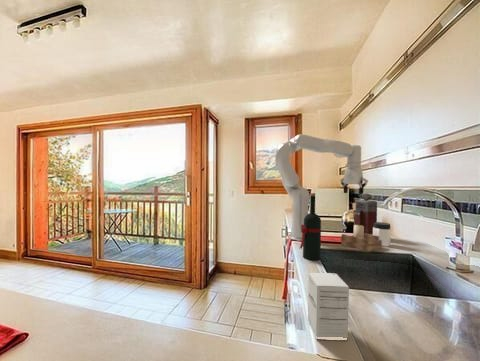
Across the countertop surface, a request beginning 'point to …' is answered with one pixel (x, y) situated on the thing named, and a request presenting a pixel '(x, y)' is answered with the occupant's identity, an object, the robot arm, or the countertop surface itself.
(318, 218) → the wine bottle
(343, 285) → the supplement box
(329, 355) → the countertop surface
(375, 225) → the jar
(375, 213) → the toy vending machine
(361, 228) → the roll
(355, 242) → the holder
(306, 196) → the robot arm
